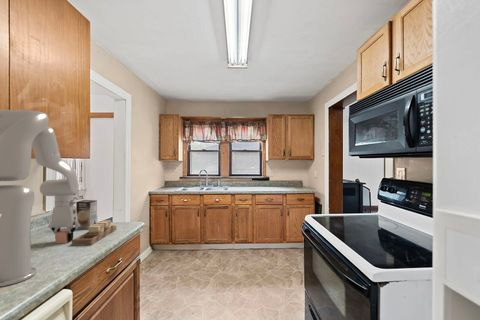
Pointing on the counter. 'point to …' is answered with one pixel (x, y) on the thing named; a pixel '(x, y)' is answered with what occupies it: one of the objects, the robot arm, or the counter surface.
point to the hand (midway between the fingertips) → (64, 240)
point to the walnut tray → (92, 237)
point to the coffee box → (86, 213)
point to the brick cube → (61, 236)
